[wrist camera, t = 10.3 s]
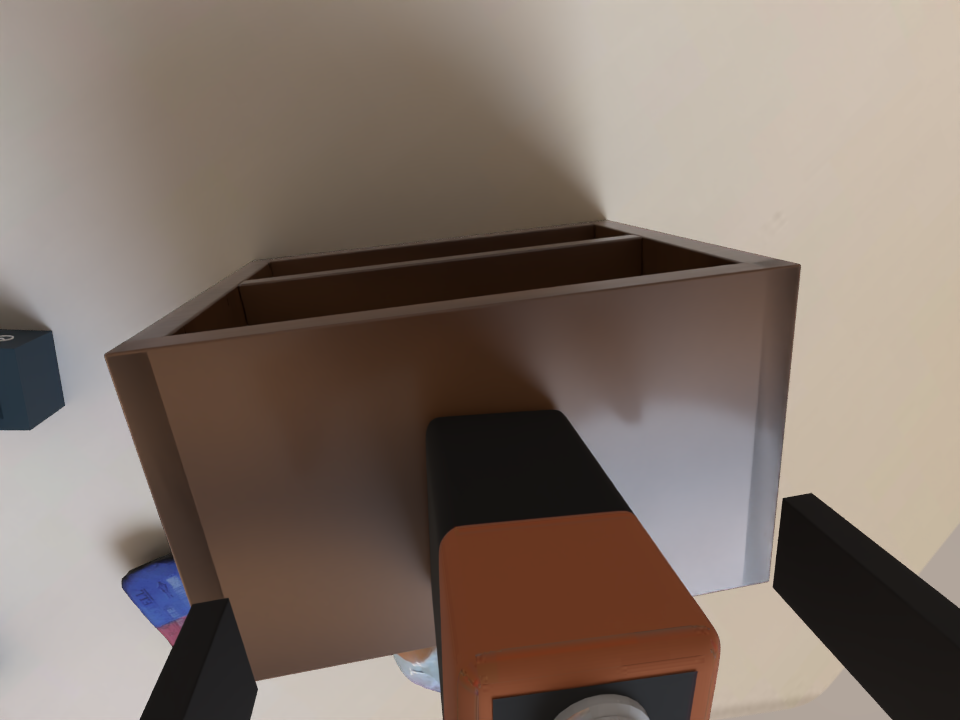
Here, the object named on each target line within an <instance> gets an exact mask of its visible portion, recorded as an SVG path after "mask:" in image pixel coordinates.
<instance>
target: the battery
mask: <svg viewBox="0 0 960 720" xmlns="http://www.w3.org/2000/svg"><path fill="white" fill-rule="evenodd" d="M426 469H427V493H428V517H429V541H430V565H431V587H432V602H433V613H434V625H435V636H436V647H437V658H438V669H439V680H440V691H441V703H442V714H443V720H709V718H710V712H711V706H712V701H713V695H714V690H715V684H716V678H717V672H718V666H719V659H720V640H719V637H718V634H717V632H716V630H715V629H714V627H713V626H712V624H711V623H710V621H709V620H708V618H707V617H706V615H705V614H704V612H703V611H702V610H701V608H700V607H699V605H698V604H697V603H696V601H695V600H694V598H693V597H692V595H691V594H690V593H689V591H688V590H687V588H686V587H685V585H684V584H683V583H682V581H681V580H680V578H679V577H678V575H677V574H676V573H675V571H674V570H673V568H672V567H671V565H670V564H669V563H668V561H667V560H666V558H665V557H664V555H663V554H662V553H661V551H660V550H659V548H658V547H657V545H656V544H655V543H654V541H653V540H652V538H651V537H650V535H649V534H648V533H647V531H646V530H645V528H644V527H643V526H642V524H641V523H640V521H639V520H638V518H637V517H636V516H635V514H634V513H633V511H632V510H631V508H630V507H629V506H628V504H627V503H626V501H625V500H624V498H623V497H622V496H621V494H620V493H619V491H618V490H617V488H616V487H615V486H614V484H613V483H612V481H611V480H610V478H609V477H608V476H607V474H606V473H605V471H604V470H603V468H602V467H601V466H600V464H599V463H598V461H597V460H596V458H595V457H594V456H593V454H592V453H591V451H590V450H589V448H588V447H587V446H586V444H585V443H584V441H583V440H582V439H581V437H580V436H579V434H578V433H577V431H576V430H575V429H574V427H573V426H572V424H571V423H570V421H569V420H568V419H567V417H566V416H565V415H564V414H563V413H562V412H561V411H559V410H536V411H521V412H506V413H491V414H476V415H462V416H447V417H438V418H435V419H433V420H432V421H431V422H430V423H429V425H428V427H427V430H426Z"/></svg>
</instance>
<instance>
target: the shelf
mask: <svg viewBox="0 0 960 720" xmlns="http://www.w3.org/2000/svg"><path fill="white" fill-rule="evenodd" d="M800 270H801V265H800V264H797V263H793V262H788V261H784V260H779V259H775V258H771V257H766V256H762V255H758V254H753V253H749V252H744V251H740V250H736V249H731V248H727V247H723V246H718V245H714V244H710V243H705V242H701V241H697V240H692V239H688V238H683V237H679V236H675V235H670V234H666V233H662V232H657V231H653V230H649V229H644V228H640V227H635V226H631V225H627V224H622V223H618V222H614V221H609V220H603V221H594V222H589V223H588V222H585V223H576V224H568V225H559V226H550V227H542V228H533V229H524V230H516V231H507V232H498V233H490V234H481V235H472V236H464V237H455V238H446V239H438V240H429V241H420V242H412V243H403V244H394V245H386V246H377V247H368V248H360V249H351V250H342V251H333V252H325V253H316V254H307V255H299V256H290V257H281V258H275V259H265V260H256V261H252V262H250V263H248V264H247V265H245V266H244V267H242V268H241V269H239V270H237V271H236V272H234V273H233V274H231V275H229V276H228V277H226V278H225V279H223V280H222V281H220V282H218V283H217V284H215V285H214V286H212V287H210V288H209V289H207V290H206V291H204V292H203V293H201V294H199V295H198V296H196V297H195V298H193V299H191V300H190V301H188V302H187V303H185V304H184V305H182V306H180V307H179V308H177V309H176V310H174V311H172V312H171V313H169V314H168V315H166V316H165V317H163V318H161V319H160V320H158V321H157V322H155V323H154V324H152V325H150V326H149V327H147V328H146V329H144V330H142V331H141V332H139V333H138V334H136V335H135V336H133V337H131V338H130V339H128V340H127V341H125V342H123V343H121V344H120V345H118V346H117V347H115V348H113V349H112V350H110V351H109V352H107V353H106V354H104V357H105V360H106V363H107V366H108V369H109V372H110V375H111V378H112V381H113V384H114V386H115V389H116V392H117V395H118V398H119V401H120V404H121V407H122V410H123V413H124V415H125V418H126V421H127V424H128V427H129V430H130V433H131V436H132V439H133V442H134V444H135V447H136V450H137V453H138V456H139V459H140V462H141V465H142V468H143V471H144V473H145V476H146V479H147V482H148V485H149V488H150V491H151V494H152V497H153V500H154V502H155V505H156V508H157V511H158V514H159V517H160V520H161V523H162V526H163V529H164V532H165V534H166V537H167V540H168V543H169V546H170V549H171V552H172V555H173V558H174V561H175V563H176V566H177V569H178V572H179V575H180V578H181V581H182V584H183V587H184V590H185V592H186V595H187V598H188V601H189V604H190V607H191V606H192V604H196V603H202V602H207V601H213V600H218V599H224V598H229V600H230V603H231V607H232V610H233V613H234V616H235V619H236V622H237V625H238V629H239V632H240V635H241V638H242V641H243V644H244V647H245V651H246V654H247V657H248V660H249V663H250V666H251V669H252V673H253V676H254V679H255V681H259V680H264V679H270V678H275V677H280V676H285V675H290V674H295V673H301V672H306V671H311V670H316V669H321V668H326V667H332V666H337V665H342V664H347V663H352V662H357V661H362V660H368V659H373V658H378V657H383V656H388V655H393V654H399V653H404V652H409V651H414V650H419V649H424V648H430V647H435V646H436V636H435V625H434V613H433V602H432V587H431V565H430V541H429V517H428V493H427V469H426V430H427V427H428V425H429V423H430V422H431V421H432V420H433V419H435V418H438V417H447V416H462V415H476V414H491V413H506V412H521V411H536V410H559V411H561V412H562V413H563V414H564V415H565V416H566V417H567V419H568V420H569V421H570V423H571V424H572V426H573V427H574V429H575V430H576V431H577V433H578V434H579V436H580V437H581V439H582V440H583V441H584V443H585V444H586V446H587V447H588V448H589V450H590V451H591V453H592V454H593V456H594V457H595V458H596V460H597V461H598V463H599V464H600V466H601V467H602V468H603V470H604V471H605V473H606V474H607V476H608V477H609V478H610V480H611V481H612V483H613V484H614V486H615V487H616V488H617V490H618V491H619V493H620V494H621V496H622V497H623V498H624V500H625V501H626V503H627V504H628V506H629V507H630V508H631V510H632V511H633V513H634V514H635V516H636V517H637V518H638V520H639V521H640V523H641V524H642V526H643V527H644V528H645V530H646V531H647V533H648V534H649V535H650V537H651V538H652V540H653V541H654V543H655V544H656V545H657V547H658V548H659V550H660V551H661V553H662V554H663V555H664V557H665V558H666V560H667V561H668V563H669V564H670V565H671V567H672V568H673V570H674V571H675V573H676V574H677V575H678V577H679V578H680V580H681V581H682V583H683V584H684V585H685V587H686V588H687V590H688V591H689V593H690V594H691V595H692V597H693V596H698V595H703V594H708V593H713V592H719V591H724V590H729V589H734V588H739V587H744V586H749V585H755V584H760V583H765V582H768V581H769V577H770V567H771V557H772V547H773V537H774V527H775V517H776V508H777V498H778V488H779V478H780V468H781V458H782V448H783V438H784V428H785V419H786V409H787V399H788V389H789V379H790V369H791V359H792V349H793V339H794V329H795V320H796V310H797V300H798V290H799V280H800Z"/></svg>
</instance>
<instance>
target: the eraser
mask: <svg viewBox="0 0 960 720" xmlns="http://www.w3.org/2000/svg"><path fill="white" fill-rule="evenodd" d="M122 588H123V590H124V591H125V592H126V594H127V595H128V596H129V597H130V599H131V600H132V601H133V603H134V604H135V605H136V606H137V607H138V608H139V609H140V610H141V612H142V613H143V614H144V615H145V616H146V618H147V619H148V620H149V621H150V622H151V623H152V624H153V625H154V626H155V627H156V628H157V629H158V630H159V631H160V632H161V633H162V634H163V636H164V637H165V638H166V639H167V640H168V641H169V643H170V644H171V646H172V647H173V645H174V643H175V641H176V639H177V637H178V634H179V632H180V630H181V628H182V626H183V623H184V621H185V619H186V617H187V615H188V612H189V610H190V608H191V607H190V604H189V601H188V598H187V595H186V592H185V590H184V587H183V584H182V581H181V578H180V575H179V572H178V569H177V566H176V563H175V561H174V558H173V555H172V553H171V554H169V555H166V556H163V557H161V558H158V559H156V560H154V561H151V562H149V563H146V564H144V565H142V566H139V567H137V568H135V569H132V570H131V571H129V572H128V573H127V575H126V576H124V577H123V578H122Z"/></svg>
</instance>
